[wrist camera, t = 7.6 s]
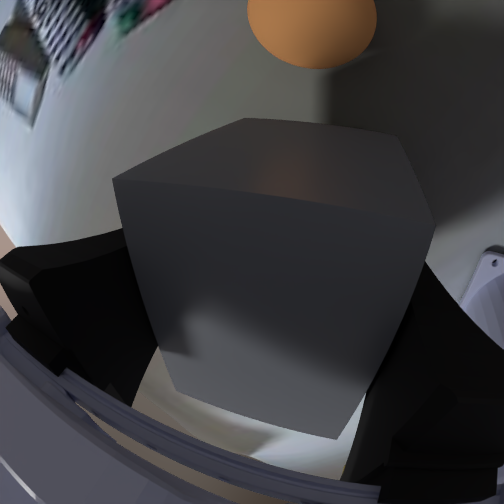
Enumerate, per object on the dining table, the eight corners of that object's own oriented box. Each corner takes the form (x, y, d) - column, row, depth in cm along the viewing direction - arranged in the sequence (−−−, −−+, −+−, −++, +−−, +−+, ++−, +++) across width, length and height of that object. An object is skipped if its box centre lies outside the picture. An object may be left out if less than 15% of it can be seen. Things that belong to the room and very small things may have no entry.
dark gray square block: (396, 135, 10) (436, 225, 4) (362, 300, 14) (336, 439, 8) (244, 118, 11) (111, 178, 6) (248, 275, 16) (176, 390, 10)
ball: (383, 88, 8) (378, 56, 11) (369, -51, 4) (367, -38, 7) (244, 88, 10) (278, 56, 13) (211, -33, 6) (258, -31, 9)
